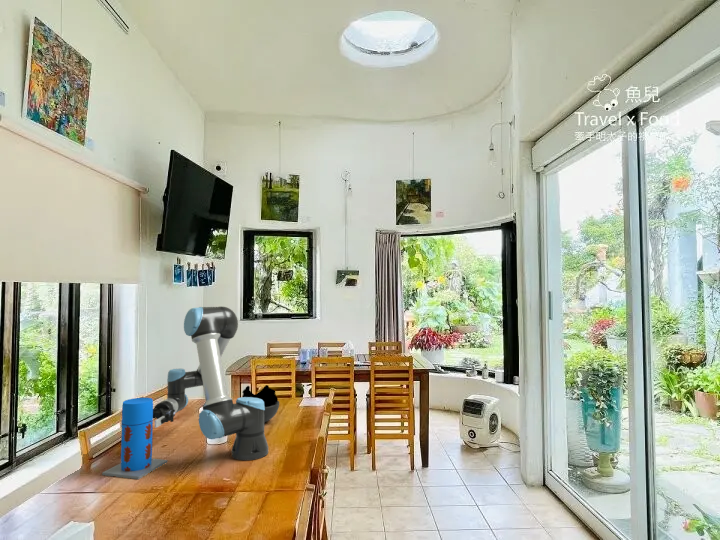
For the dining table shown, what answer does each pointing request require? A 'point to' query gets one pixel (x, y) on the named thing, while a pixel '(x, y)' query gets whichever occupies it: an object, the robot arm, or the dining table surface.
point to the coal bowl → (265, 400)
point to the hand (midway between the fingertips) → (138, 424)
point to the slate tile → (134, 474)
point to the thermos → (136, 434)
